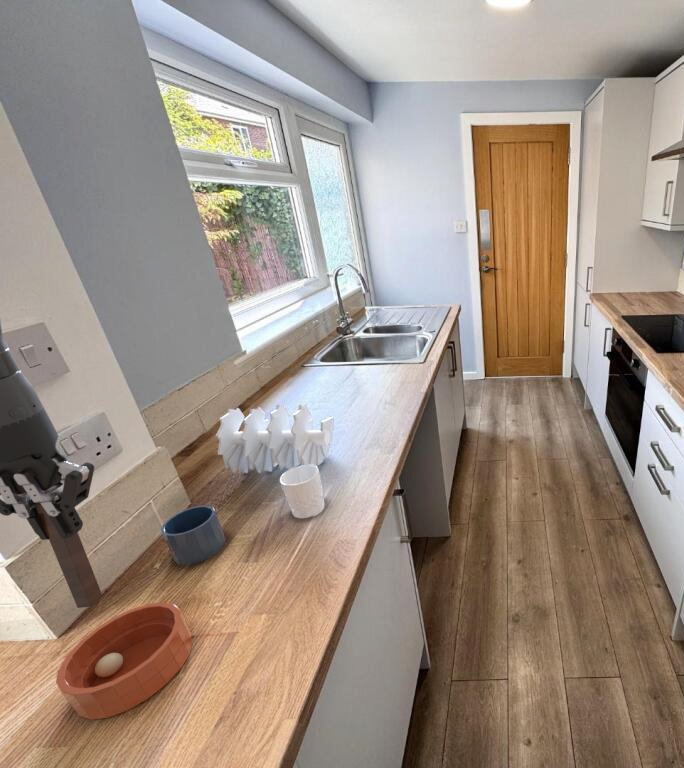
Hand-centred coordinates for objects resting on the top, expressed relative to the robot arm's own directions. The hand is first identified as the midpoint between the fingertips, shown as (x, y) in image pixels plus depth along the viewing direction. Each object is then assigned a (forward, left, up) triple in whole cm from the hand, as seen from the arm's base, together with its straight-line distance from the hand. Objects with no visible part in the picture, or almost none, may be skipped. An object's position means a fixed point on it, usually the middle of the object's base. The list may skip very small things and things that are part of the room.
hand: (62, 533), depth 52 cm
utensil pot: (-4, +23, -26) cm, 35 cm away
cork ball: (-2, -1, -24) cm, 24 cm away
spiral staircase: (+1, +53, -26) cm, 59 cm away
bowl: (+1, -1, -26) cm, 26 cm away
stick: (0, -1, -11) cm, 11 cm away
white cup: (+14, +33, -26) cm, 44 cm away
